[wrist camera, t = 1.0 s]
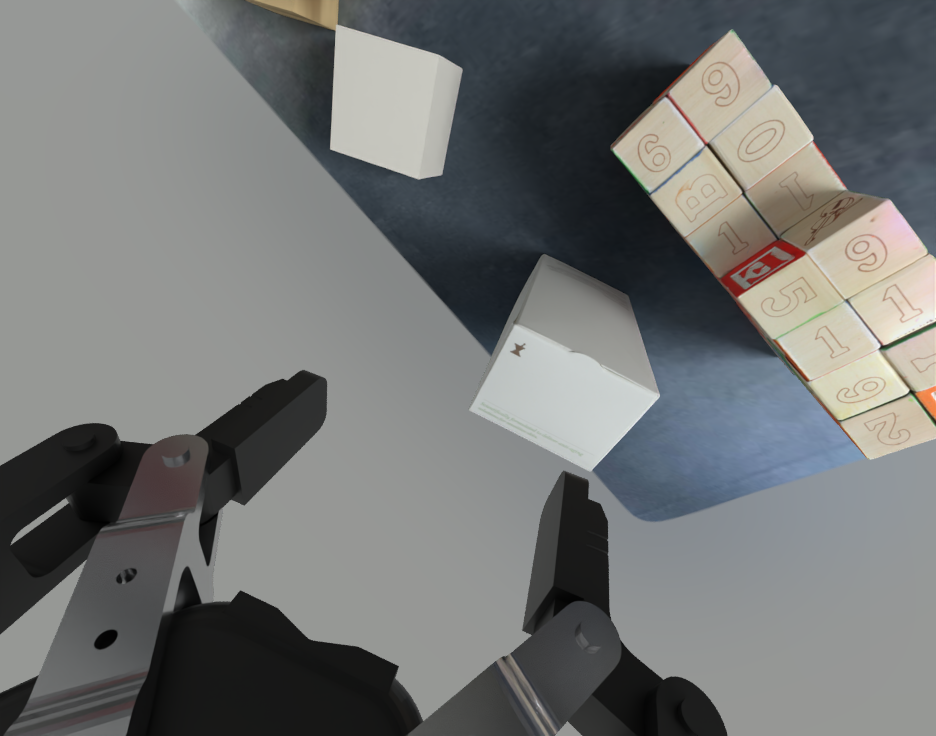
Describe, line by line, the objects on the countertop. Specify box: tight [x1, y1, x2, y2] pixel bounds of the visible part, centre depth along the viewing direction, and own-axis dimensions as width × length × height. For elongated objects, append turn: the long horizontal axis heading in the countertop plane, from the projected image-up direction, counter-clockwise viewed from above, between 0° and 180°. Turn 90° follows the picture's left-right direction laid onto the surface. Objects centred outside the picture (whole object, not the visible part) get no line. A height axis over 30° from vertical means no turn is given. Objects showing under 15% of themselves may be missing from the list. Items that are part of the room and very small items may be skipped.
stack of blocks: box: [610, 29, 936, 459], centre depth 22 cm, size 21×6×12 cm, turn 47°
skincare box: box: [469, 254, 660, 471], centre depth 26 cm, size 8×7×16 cm
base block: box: [330, 25, 463, 179], centre depth 27 cm, size 7×7×5 cm
